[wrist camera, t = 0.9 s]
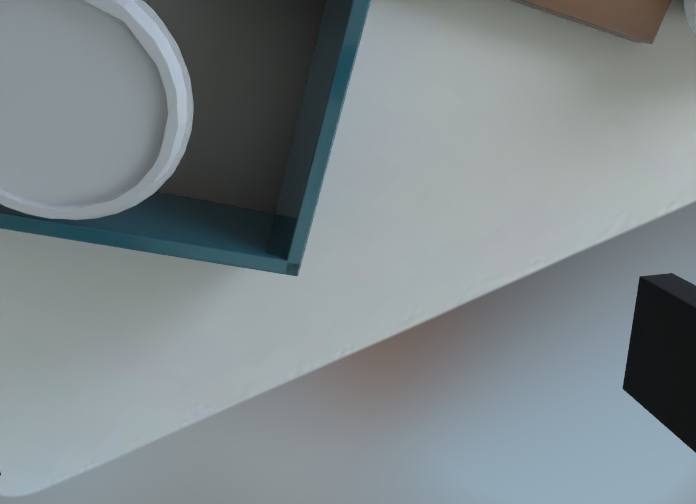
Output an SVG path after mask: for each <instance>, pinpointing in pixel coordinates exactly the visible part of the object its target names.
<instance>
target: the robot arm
mask: <svg viewBox="0 0 696 504" xmlns="http://www.w3.org/2000/svg"><path fill="white" fill-rule="evenodd" d="M623 389H624V390H625V391H626V392H627V393H628V394H629V395H630V396H632V397H633V398H634V399H635V400H636V401H637V402H639V403H640V404H641V405H642V406H643V407H644V408H645V409H646V410H648V411H649V412H650V413H651V414H652V415H653V416H655V417H656V418H657V419H658V420H659V421H660V422H661V423H662V424H664V425H665V426H666V427H667V428H668V429H669V430H670V431H672V432H673V433H674V434H675V435H676V436H677V437H678V438H680V439H681V440H682V441H683V442H684V443H685V444H686V445H688V446H689V447H690V448H691V449H692V450H693V451H694V452H696V286H695V285H693V284H692V283H690V282H688V281H686V280H684V279H682V278H680V277H678V276H676V275H674V274H672V273H670V274H660V275H651V276H641V277H640V279H639V285H638V292H637V298H636V305H635V312H634V318H633V325H632V331H631V337H630V344H629V351H628V357H627V364H626V371H625V377H624V384H623ZM0 475H1V473H0Z"/></svg>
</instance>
